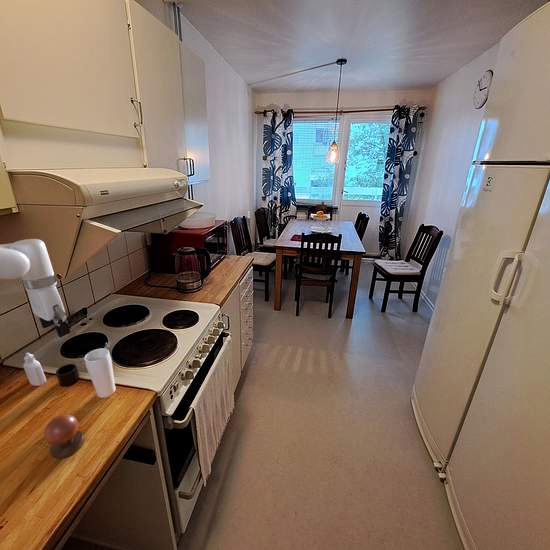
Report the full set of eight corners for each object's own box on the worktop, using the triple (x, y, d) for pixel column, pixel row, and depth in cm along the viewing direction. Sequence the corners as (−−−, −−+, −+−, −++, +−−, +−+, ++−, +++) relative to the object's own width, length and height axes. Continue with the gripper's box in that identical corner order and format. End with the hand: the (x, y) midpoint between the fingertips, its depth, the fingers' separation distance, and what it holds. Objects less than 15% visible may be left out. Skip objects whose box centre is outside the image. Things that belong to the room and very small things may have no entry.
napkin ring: (66, 389, 94) (62, 377, 92) (56, 383, 96) (52, 371, 94) (83, 378, 99) (79, 366, 97) (73, 373, 101) (69, 361, 99)
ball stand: (62, 464, 71) (51, 436, 67) (45, 452, 74) (33, 425, 70) (90, 440, 77) (81, 413, 73) (73, 430, 80) (64, 404, 76)
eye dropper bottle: (45, 374, 100) (35, 346, 95) (47, 383, 96) (36, 354, 92) (29, 380, 97) (18, 351, 93) (30, 389, 93) (18, 360, 89)
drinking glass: (91, 392, 93) (80, 354, 87) (114, 381, 97) (104, 345, 92) (98, 404, 88) (87, 365, 83) (121, 392, 93) (112, 354, 87)
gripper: (11, 279, 85) (29, 328, 91) (39, 292, 77) (57, 345, 84) (40, 271, 91) (55, 317, 97) (69, 283, 83) (84, 332, 90)
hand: (56, 330), depth 91 cm, fingers open, 9 cm apart
